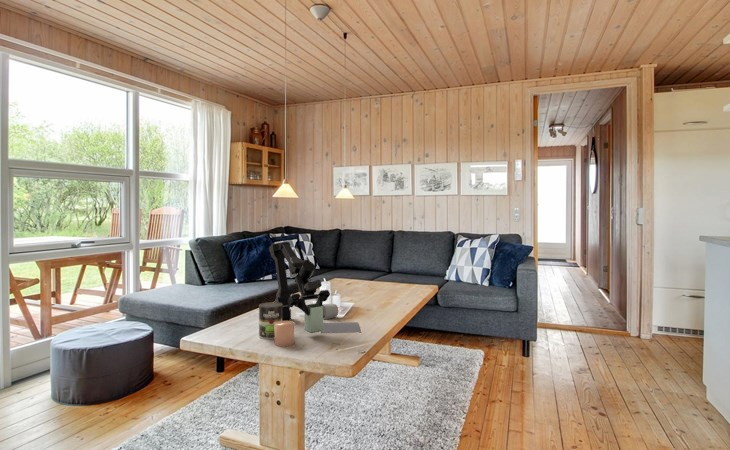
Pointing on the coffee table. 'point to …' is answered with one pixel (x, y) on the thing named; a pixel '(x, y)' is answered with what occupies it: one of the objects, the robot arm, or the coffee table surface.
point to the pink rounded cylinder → (284, 333)
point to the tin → (314, 318)
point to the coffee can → (269, 318)
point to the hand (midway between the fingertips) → (315, 314)
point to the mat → (341, 327)
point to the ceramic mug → (329, 311)
